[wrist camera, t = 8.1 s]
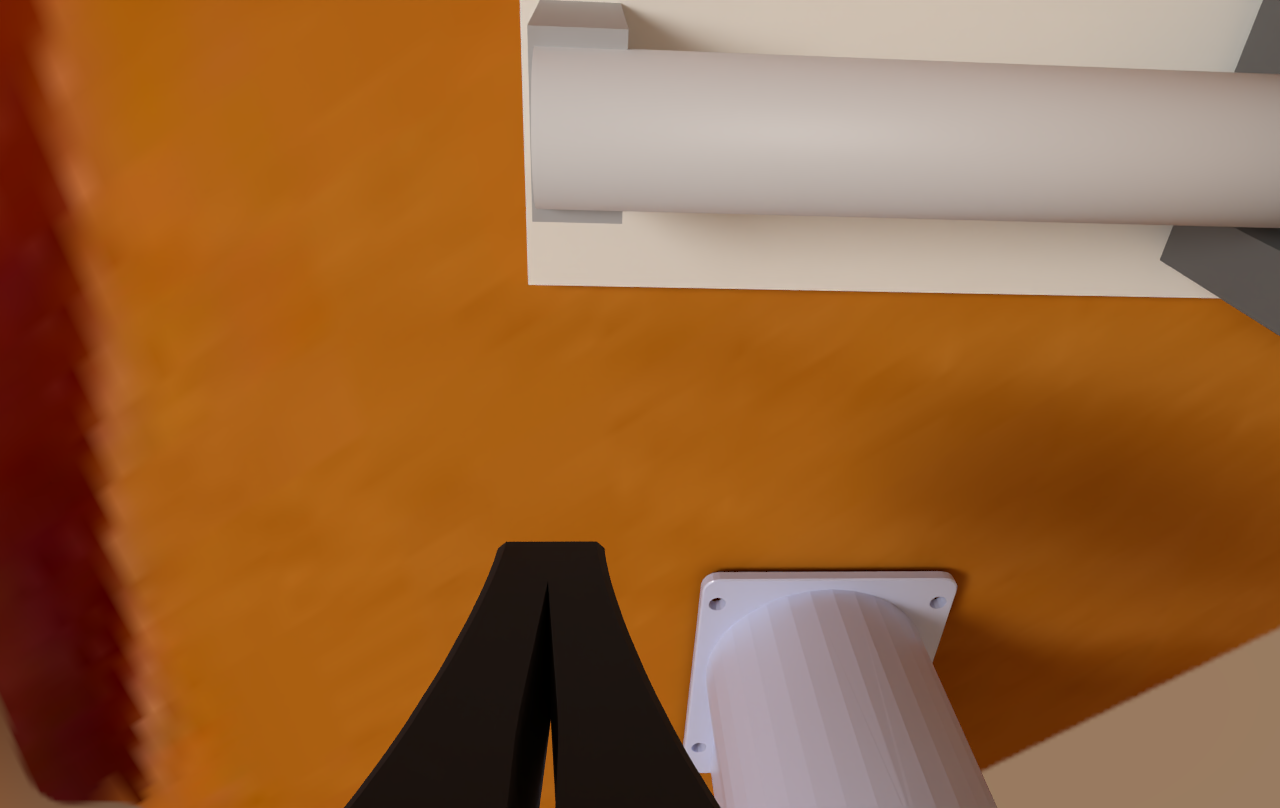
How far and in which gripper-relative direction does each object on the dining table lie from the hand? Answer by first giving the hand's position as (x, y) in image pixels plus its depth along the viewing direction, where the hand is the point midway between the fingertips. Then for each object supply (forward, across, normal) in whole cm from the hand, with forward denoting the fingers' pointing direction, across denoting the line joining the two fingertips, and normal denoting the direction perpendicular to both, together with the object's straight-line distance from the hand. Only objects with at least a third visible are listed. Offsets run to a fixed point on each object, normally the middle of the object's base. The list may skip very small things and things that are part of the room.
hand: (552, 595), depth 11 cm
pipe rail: (+10, -10, -5) cm, 15 cm away
